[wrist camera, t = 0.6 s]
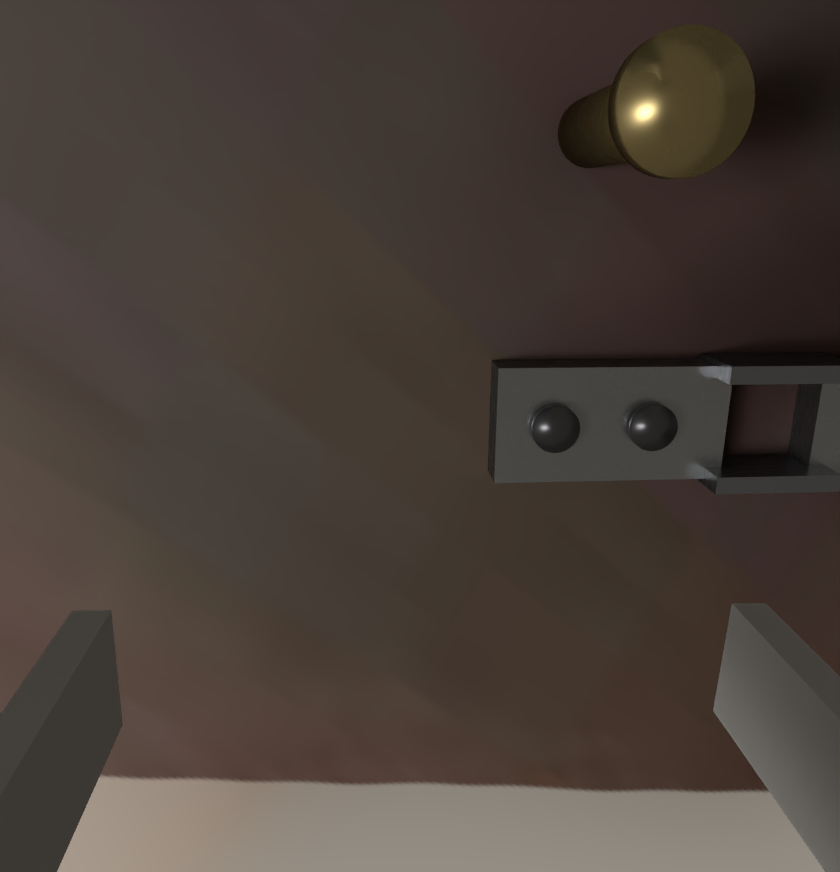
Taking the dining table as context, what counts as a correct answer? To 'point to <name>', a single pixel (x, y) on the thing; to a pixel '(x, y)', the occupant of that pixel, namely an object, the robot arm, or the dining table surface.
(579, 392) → the grey long bar piece
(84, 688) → the robot arm
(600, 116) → the pin
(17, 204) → the dining table surface
